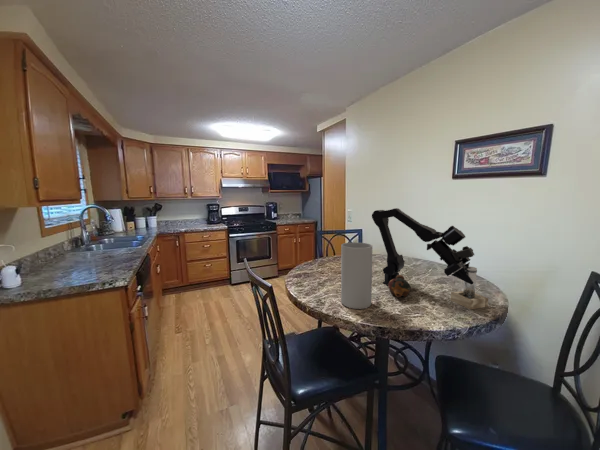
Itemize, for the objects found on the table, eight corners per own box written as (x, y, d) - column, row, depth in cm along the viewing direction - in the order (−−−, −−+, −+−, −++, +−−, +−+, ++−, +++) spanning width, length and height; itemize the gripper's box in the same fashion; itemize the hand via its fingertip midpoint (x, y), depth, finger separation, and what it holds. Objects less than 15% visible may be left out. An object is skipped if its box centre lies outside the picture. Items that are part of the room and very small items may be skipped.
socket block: (469, 309, 95) (470, 300, 95) (450, 300, 104) (451, 292, 103) (487, 306, 97) (488, 298, 97) (467, 298, 106) (467, 290, 106)
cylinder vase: (366, 312, 94) (367, 249, 91) (336, 305, 100) (336, 246, 98) (374, 301, 104) (375, 244, 102) (347, 295, 111) (347, 241, 108)
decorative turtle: (408, 290, 116) (410, 274, 115) (411, 304, 102) (413, 287, 101) (387, 286, 119) (388, 271, 118) (387, 300, 105) (388, 283, 104)
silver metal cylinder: (465, 298, 99) (467, 268, 97) (461, 294, 103) (462, 266, 101) (477, 299, 98) (479, 269, 96) (472, 295, 102) (474, 266, 101)
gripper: (455, 243, 94) (488, 277, 87) (466, 238, 107) (495, 267, 100) (432, 259, 101) (461, 292, 94) (445, 252, 114) (471, 280, 107)
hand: (473, 282), depth 99 cm, fingers closed on silver metal cylinder, 4 cm apart
